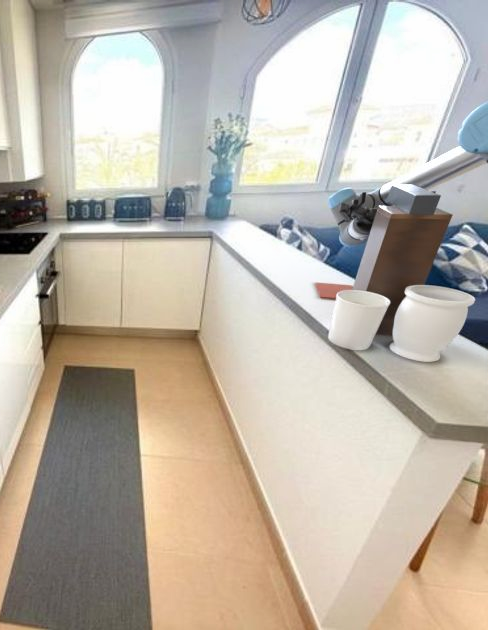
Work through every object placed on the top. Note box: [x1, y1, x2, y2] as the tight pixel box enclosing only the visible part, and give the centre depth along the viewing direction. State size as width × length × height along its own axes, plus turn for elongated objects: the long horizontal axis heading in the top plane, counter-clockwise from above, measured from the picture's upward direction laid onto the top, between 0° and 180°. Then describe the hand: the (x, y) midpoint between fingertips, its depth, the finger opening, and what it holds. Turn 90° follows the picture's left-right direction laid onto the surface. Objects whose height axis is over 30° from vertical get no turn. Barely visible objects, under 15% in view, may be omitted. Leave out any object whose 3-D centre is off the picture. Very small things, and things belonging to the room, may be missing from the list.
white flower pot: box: [327, 290, 390, 351], centre depth 83 cm, size 10×10×12 cm
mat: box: [315, 282, 353, 300], centre depth 111 cm, size 10×13×1 cm
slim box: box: [387, 184, 442, 215], centre depth 81 cm, size 4×20×4 cm, turn 151°
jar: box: [389, 284, 476, 363], centre depth 76 cm, size 11×10×15 cm
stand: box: [352, 205, 453, 337], centre depth 85 cm, size 10×11×30 cm
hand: (397, 196), depth 88 cm, fingers open, 13 cm apart
